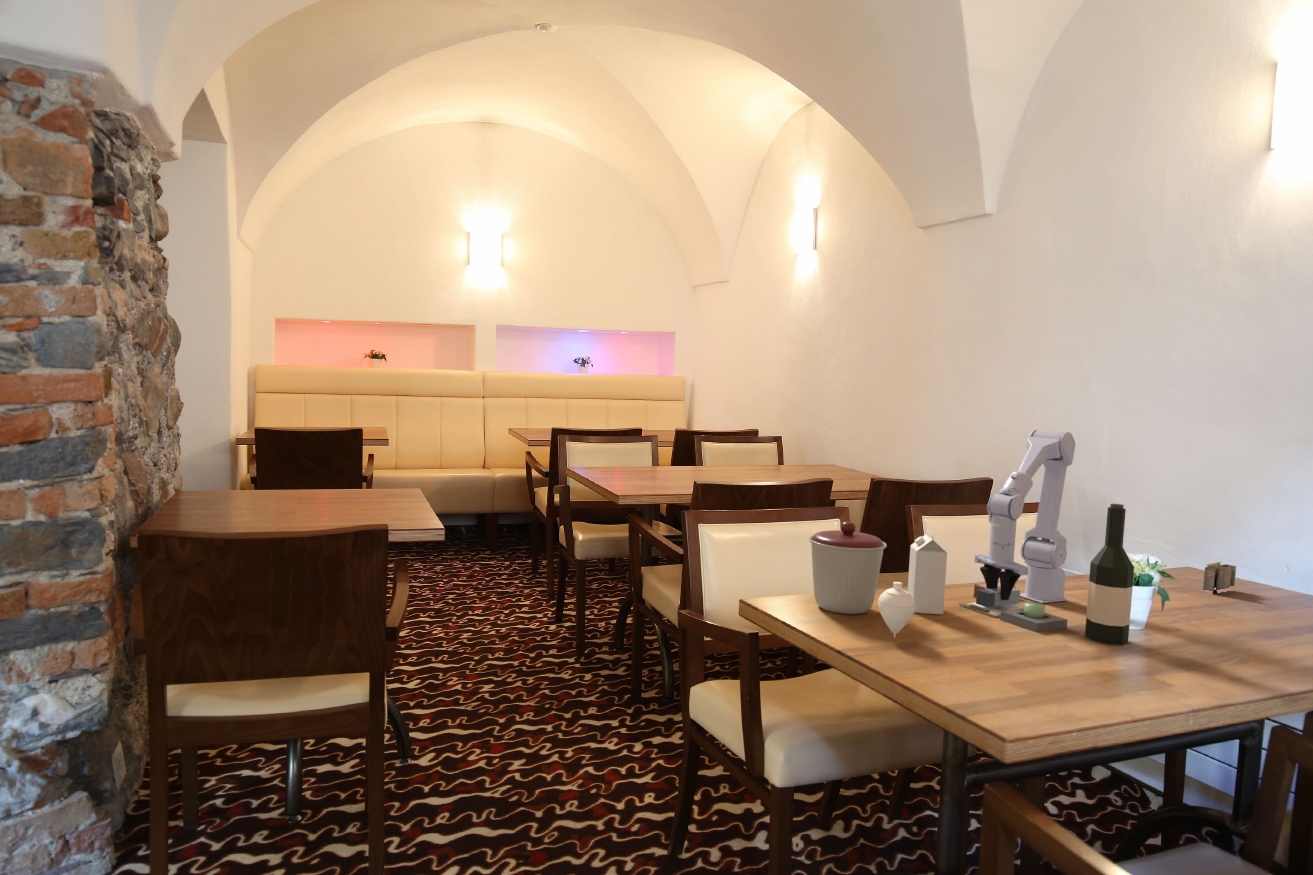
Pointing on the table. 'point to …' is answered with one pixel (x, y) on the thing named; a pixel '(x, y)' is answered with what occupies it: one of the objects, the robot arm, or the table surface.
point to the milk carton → (927, 575)
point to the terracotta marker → (983, 586)
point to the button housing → (1033, 621)
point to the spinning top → (896, 607)
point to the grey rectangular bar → (996, 597)
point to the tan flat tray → (990, 608)
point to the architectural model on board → (1219, 576)
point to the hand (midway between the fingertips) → (998, 597)
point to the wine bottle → (1110, 585)
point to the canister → (846, 569)
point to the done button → (1034, 610)
